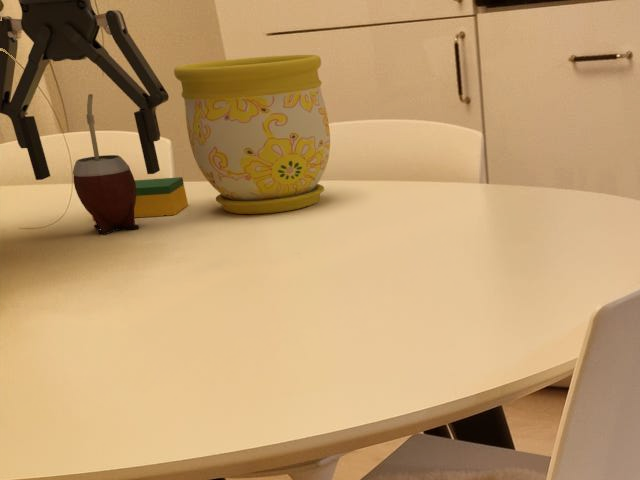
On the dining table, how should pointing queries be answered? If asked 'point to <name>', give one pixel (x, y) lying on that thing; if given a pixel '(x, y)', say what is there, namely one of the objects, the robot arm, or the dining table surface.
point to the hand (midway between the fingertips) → (98, 175)
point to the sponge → (159, 197)
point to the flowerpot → (258, 130)
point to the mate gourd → (105, 186)
